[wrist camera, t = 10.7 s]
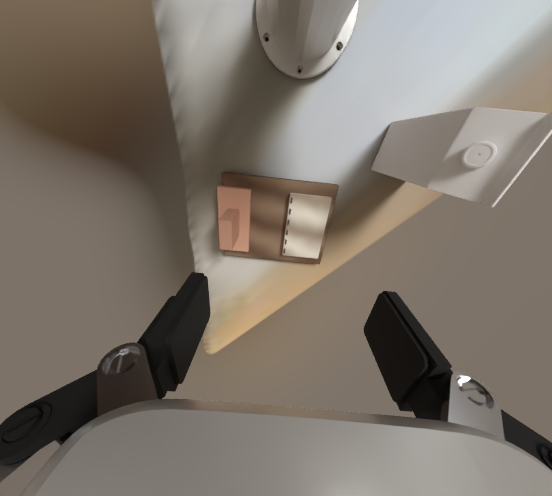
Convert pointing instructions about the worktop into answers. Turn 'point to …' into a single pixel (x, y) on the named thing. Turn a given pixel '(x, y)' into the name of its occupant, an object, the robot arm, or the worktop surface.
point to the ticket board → (286, 217)
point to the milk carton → (464, 150)
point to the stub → (234, 217)
